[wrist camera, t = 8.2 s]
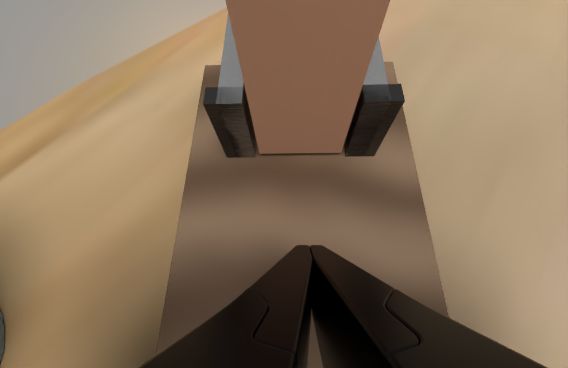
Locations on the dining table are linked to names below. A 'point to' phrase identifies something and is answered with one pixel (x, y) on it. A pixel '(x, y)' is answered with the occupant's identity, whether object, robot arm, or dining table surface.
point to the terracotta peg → (304, 68)
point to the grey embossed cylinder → (1, 336)
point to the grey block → (238, 122)
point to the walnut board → (294, 221)
